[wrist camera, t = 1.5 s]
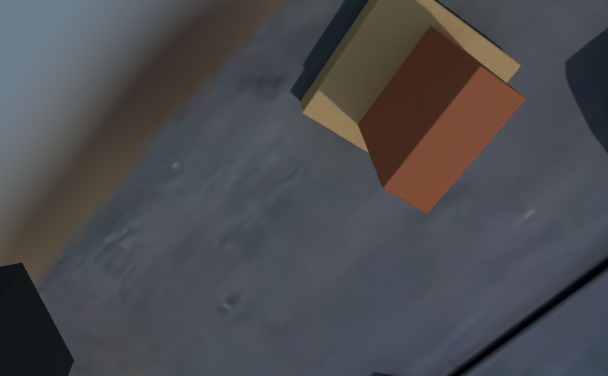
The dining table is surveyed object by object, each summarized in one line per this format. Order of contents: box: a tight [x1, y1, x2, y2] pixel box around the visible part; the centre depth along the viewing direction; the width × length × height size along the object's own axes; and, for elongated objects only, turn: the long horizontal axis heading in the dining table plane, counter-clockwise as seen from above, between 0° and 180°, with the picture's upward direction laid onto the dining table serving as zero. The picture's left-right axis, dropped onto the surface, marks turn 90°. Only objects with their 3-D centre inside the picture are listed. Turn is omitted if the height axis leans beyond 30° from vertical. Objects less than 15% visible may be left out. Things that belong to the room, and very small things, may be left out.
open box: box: [301, 0, 526, 213], centre depth 25 cm, size 8×8×9 cm
